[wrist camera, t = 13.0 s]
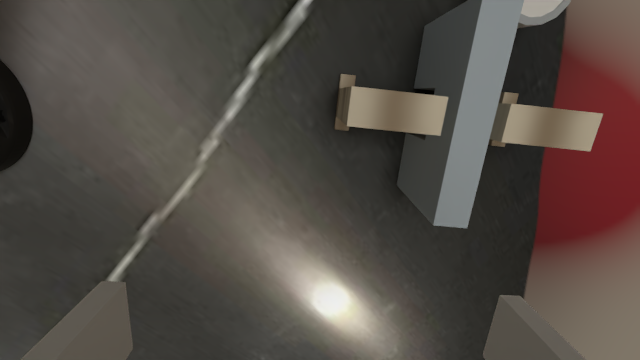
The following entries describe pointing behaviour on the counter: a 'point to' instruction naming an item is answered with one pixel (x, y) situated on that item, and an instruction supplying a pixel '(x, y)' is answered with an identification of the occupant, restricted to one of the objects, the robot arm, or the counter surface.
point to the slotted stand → (430, 110)
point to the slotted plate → (458, 106)
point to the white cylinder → (540, 11)
